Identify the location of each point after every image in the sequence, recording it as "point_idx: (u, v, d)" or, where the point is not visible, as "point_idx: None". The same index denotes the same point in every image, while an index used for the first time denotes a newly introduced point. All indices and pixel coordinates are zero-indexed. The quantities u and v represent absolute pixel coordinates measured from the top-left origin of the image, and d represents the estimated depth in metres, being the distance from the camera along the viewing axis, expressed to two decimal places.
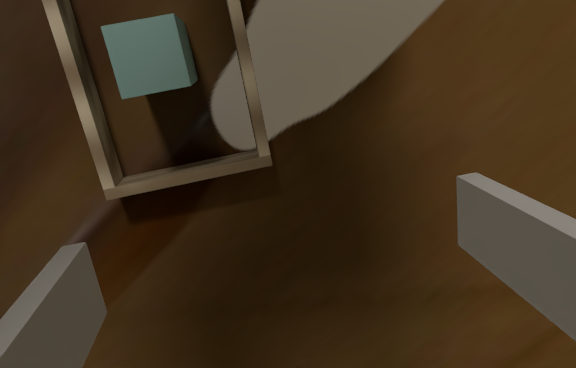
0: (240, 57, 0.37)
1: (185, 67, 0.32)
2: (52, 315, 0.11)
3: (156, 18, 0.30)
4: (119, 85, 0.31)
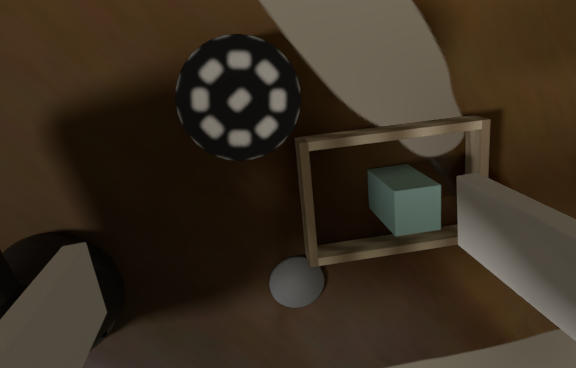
0: (407, 137, 0.49)
1: (428, 187, 0.45)
2: (53, 315, 0.11)
3: (395, 202, 0.45)
4: (432, 230, 0.47)
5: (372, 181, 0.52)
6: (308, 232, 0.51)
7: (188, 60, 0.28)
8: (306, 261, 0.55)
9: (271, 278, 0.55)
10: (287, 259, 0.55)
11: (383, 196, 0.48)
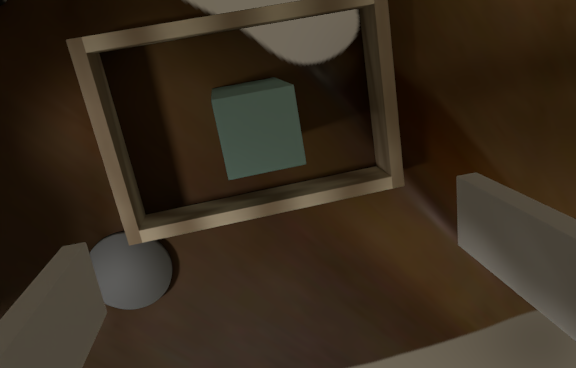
0: (252, 22, 0.30)
1: (272, 90, 0.26)
2: (53, 315, 0.11)
3: (217, 120, 0.26)
4: (291, 165, 0.28)
5: None
6: (113, 190, 0.32)
7: None
8: None
9: None
10: (107, 237, 0.36)
11: None
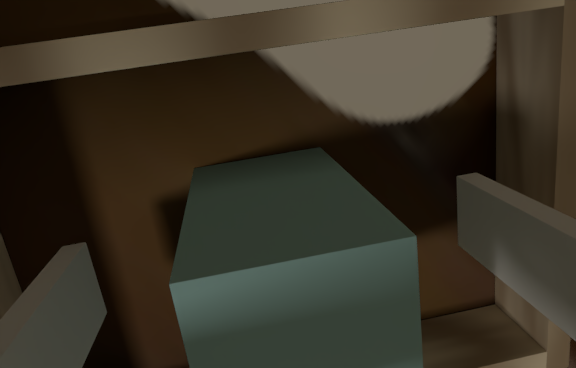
0: (288, 41, 0.13)
1: (353, 251, 0.09)
2: (53, 315, 0.11)
3: (188, 335, 0.09)
4: None
5: None
6: None
7: None
8: None
9: None
10: None
11: None
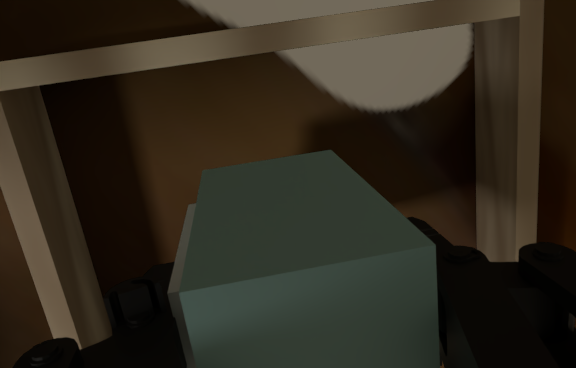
0: (300, 44, 0.17)
1: (370, 260, 0.08)
2: None
3: (198, 345, 0.09)
4: None
5: None
6: (50, 319, 0.19)
7: None
8: None
9: None
10: None
11: None
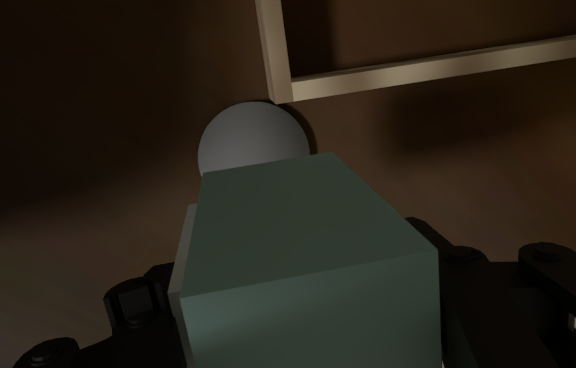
0: None
1: (372, 265, 0.08)
2: None
3: (199, 351, 0.08)
4: None
5: None
6: (265, 16, 0.22)
7: None
8: (271, 111, 0.27)
9: (200, 148, 0.27)
10: (231, 106, 0.27)
11: None
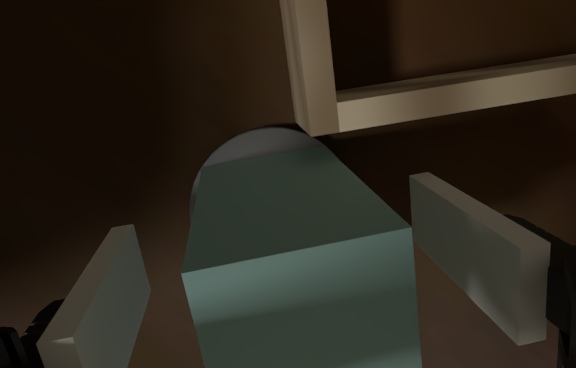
0: None
1: (353, 242, 0.09)
2: (115, 286, 0.12)
3: (199, 321, 0.09)
4: None
5: None
6: None
7: None
8: (299, 142, 0.18)
9: (193, 197, 0.18)
10: (239, 135, 0.18)
11: None
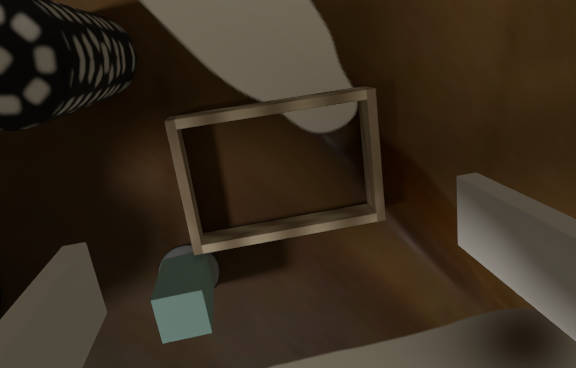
0: (285, 111, 0.45)
1: (188, 293, 0.43)
2: (52, 315, 0.11)
3: (154, 310, 0.43)
4: (202, 333, 0.45)
5: None
6: (187, 217, 0.47)
7: None
8: None
9: None
10: (175, 248, 0.51)
11: None
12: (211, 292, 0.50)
